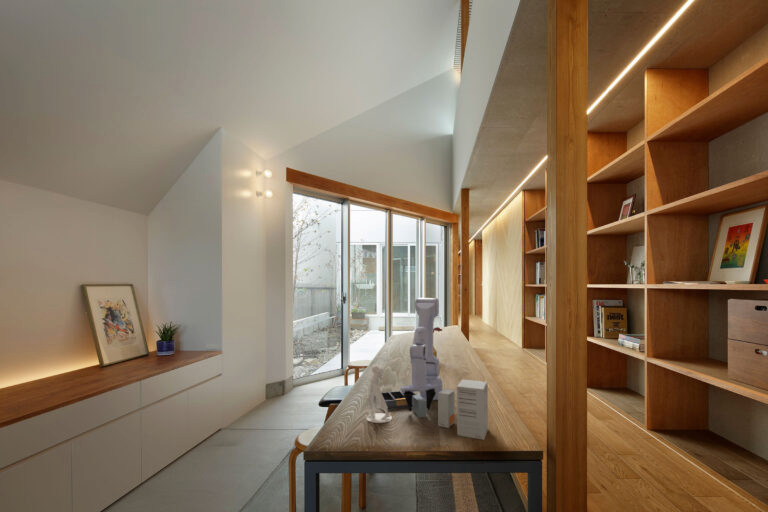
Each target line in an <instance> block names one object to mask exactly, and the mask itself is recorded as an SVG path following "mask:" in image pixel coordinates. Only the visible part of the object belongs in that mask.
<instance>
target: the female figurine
mask: <svg viewBox="0 0 768 512" xmlns="http://www.w3.org/2000/svg"><path fill="white" fill-rule="evenodd" d="M371 372H372V375H371V377H370V379H369V381H370V389H369V393H367V395H368V399H367V407H368V408H369V410H370V409H371V413H370V414H369V415H367V416H366V420H367V421H368V422H370V423H375V424H385V423H388V422H390V421H391V420H393V418H392V417H393V416H392V415H390V413H389V410H388V407H387V405H386V403H385V400H384V398H383V395H382V390H383V389H385V387H388V386H391V385H392V384H384V385H383V387H382V389H381V387H380V386H382V385H379V381H380V380H382V379H384V376H383V374H384V370H383V368H380V367H379V366H378V365H377V364H374V365H372V366H371ZM362 388H364V387H361V389H362ZM351 390H357V391H359V392H360V393H361V394H363V395H365V393H364V392H362V391H360V388H356V387H354V388H351ZM380 409H381V410H382V411H384V413H383V412H381V413H380V412H379V413H377V412H375V411H376V410H380Z"/></svg>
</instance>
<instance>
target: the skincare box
mask: <svg viewBox="0 0 768 512" xmlns="http://www.w3.org/2000/svg"><path fill="white" fill-rule="evenodd" d="M455 392H456V391H455V390H453V389H449V388H443V389H442V391H440V392H439V393H438V400H437V425H438V427H443V428H446V429H449V428H450V427H452V426H453V425H454V424H455V423H456V422H455V420H456V419H455V418H456V417H455V414H456V413H455V410H456V407H455V400H456V399H455V398H456V397H455Z"/></svg>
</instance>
